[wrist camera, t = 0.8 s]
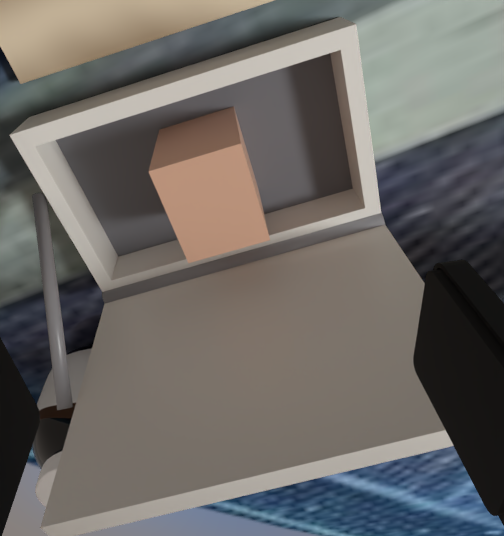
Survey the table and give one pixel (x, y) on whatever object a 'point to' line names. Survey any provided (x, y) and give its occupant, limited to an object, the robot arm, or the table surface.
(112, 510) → the case
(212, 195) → the block
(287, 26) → the table surface
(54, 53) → the oak board
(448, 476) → the table surface
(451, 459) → the table surface
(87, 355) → the spread jar
